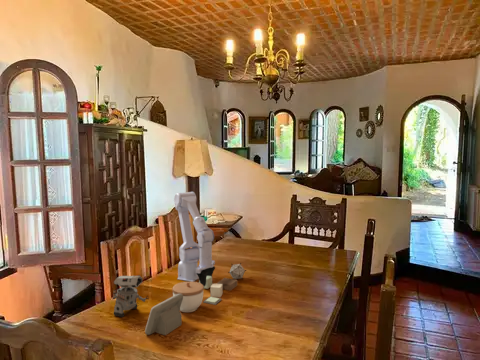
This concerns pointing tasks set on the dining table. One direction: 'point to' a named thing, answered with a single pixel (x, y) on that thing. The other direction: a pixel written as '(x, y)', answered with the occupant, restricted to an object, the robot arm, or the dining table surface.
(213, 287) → the cream cube
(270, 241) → the dining table surface
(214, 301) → the tile
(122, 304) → the figurine
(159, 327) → the digital clock
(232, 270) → the game die
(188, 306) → the lidded bowl
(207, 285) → the sage cube
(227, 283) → the walnut base
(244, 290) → the dining table surface
